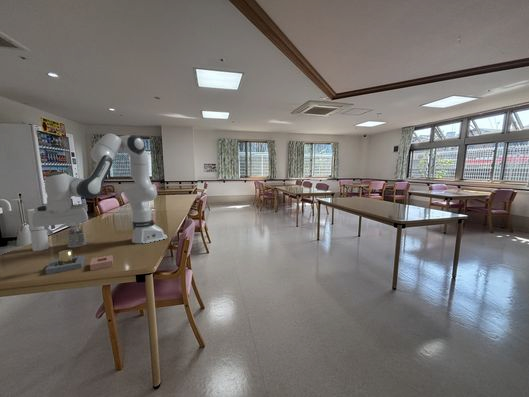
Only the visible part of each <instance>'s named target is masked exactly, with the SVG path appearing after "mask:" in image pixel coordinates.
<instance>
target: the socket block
mask: <svg viewBox="0 0 529 397" xmlns="http://www.w3.org/2000/svg"><path fill="white" fill-rule="evenodd" d="M73 262H74V263H71V264H65V265H60V259H59V258H58V259H52V260H51V261H50V263H49V264H48V265H47V267H46V268H45V270H44V271H45V275H52V274H56V273H62V272H67V271H73V270H74V271H75V270H80V269H82V268H83V266H84V263H85V254H82V255H77V256H73Z"/></svg>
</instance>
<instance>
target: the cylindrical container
mask: <svg viewBox="0 0 529 397" xmlns="http://www.w3.org/2000/svg"><path fill="white" fill-rule="evenodd" d="M34 213H35V211H34V208H31V209H27V216H28V224H29V232H30V233H29V234H30V238H31V239H30V240H31V248H32V251H33V252H38V251H44V250H47V249H49V248H50V244H49V236H48V235H49V234H48V231H47V230H45V229H44V226H41V227H35V226H33V214H34Z"/></svg>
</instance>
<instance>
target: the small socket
mask: <svg viewBox="0 0 529 397" xmlns="http://www.w3.org/2000/svg"><path fill="white" fill-rule="evenodd" d="M110 267H111V268H112V267H114V256H113V254H111V255H105V256H99V257H93V258H91V259H90V264H89V269H90V271H95V270H101V269H106V268H110Z"/></svg>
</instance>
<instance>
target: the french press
mask: <svg viewBox="0 0 529 397" xmlns="http://www.w3.org/2000/svg"><path fill="white" fill-rule="evenodd" d="M82 225H84V222H80V225H79V226H82ZM76 226H77V225H76V223H69V224H66V227H69V228H66V229H65V231H64V234H63V235H64V238H65V239H67V240H68V245H67V248H79V247H82V246H85V245H87V242H86V241H85V233H84V230H83V229H82V228H78V231H75V232H74V229H72V227H73V228H74V227H76ZM79 226H78V227H79ZM70 227H71V228H70ZM66 231H67V232H66ZM66 234H67V235H66Z"/></svg>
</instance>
